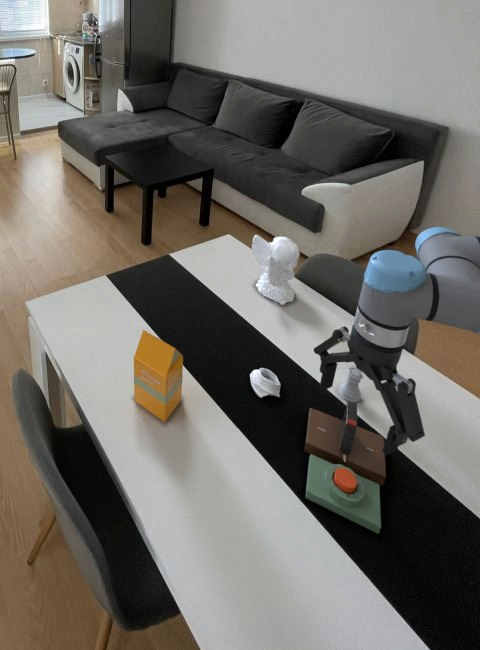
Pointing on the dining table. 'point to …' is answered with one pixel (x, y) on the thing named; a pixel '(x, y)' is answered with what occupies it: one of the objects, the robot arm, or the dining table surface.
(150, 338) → the orange juice
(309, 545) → the dining table surface
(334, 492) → the button block
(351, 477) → the button
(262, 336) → the dining table surface
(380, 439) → the panel
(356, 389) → the rook chess piece
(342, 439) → the red-tipped grey box
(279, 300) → the cherub figurine
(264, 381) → the white folded cloth ring
